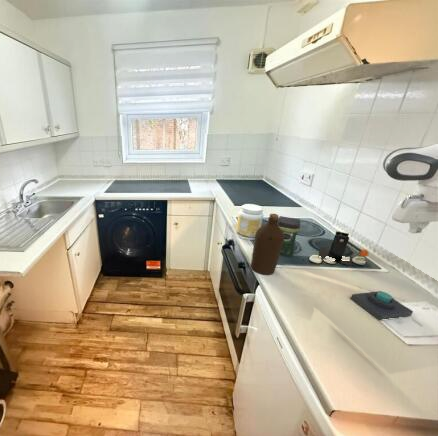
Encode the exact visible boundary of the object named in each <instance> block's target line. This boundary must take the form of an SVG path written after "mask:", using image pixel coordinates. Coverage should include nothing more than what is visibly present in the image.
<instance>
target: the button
mask: <svg viewBox="0 0 438 436" xmlns="http://www.w3.org/2000/svg"><path fill="white" fill-rule="evenodd" d="M379 291H380V292H378V293H377V295H376V298H377V299H379V300H381V301H383V302H387V303H390V302H391V300H392V298H393V295H391V294H389V293H387V292H385V291H382V292H381V290H379Z"/></svg>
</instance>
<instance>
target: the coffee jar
mask: <svg viewBox="0 0 438 436" xmlns="http://www.w3.org/2000/svg"><path fill="white" fill-rule="evenodd" d="M277 225H278V226H279V228H280V229H281V230H282V232H283V234H284V243H283V246H282V249H281V252H280V255H279V257H285V258H292V257H293V256H294V252H295V246H296V245H295V244H296V238H297V234H298V233H299V231H300V229H301V219H300V218H295V217H288V216H282V215H280V216H279V217H278V223H277Z"/></svg>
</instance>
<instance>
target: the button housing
mask: <svg viewBox="0 0 438 436" xmlns="http://www.w3.org/2000/svg"><path fill="white" fill-rule="evenodd" d="M380 291H381V290H379V291H369V292H359V293H353V294H351V296H350V298H349V299H350V301H352V303H354V304H356V305H357V306H359V307H360V308H362V309H363V310H364V311H365V312H367V313H368V314H369V315H370V316H371V317H373V318H375V319H376V320H377V321H383V320H382V319H388V320H390V319H389V318H395V319H400V318H399V317H403V318H409V316H410V317H411V316H412V314H413V313H414V311H413V310H412V309H410V308H408V307H407V306H405V305H404V304H402V303H401V302H399V301H398V300H396V299H395V298H393V297H392V300H391V302H390V303H387V302H383V301H381V300H379V299H377V298H376V295H377V293H378V292H380ZM381 292H383V291H381Z"/></svg>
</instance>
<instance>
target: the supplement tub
mask: <svg viewBox="0 0 438 436" xmlns="http://www.w3.org/2000/svg"><path fill="white" fill-rule="evenodd" d="M263 212H264V208H263V207H262V206H261V205H258V204H253V203H245V204H242V205H241V207H240V210H239V212H238V217H237V223H236V230H235V234H236V236H237V237H239V238H240V239H242V240H246V241H254V240H255V234H256V232H257V230H258V229H259V228H260V227H261V226H263V220H264V213H263Z"/></svg>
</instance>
